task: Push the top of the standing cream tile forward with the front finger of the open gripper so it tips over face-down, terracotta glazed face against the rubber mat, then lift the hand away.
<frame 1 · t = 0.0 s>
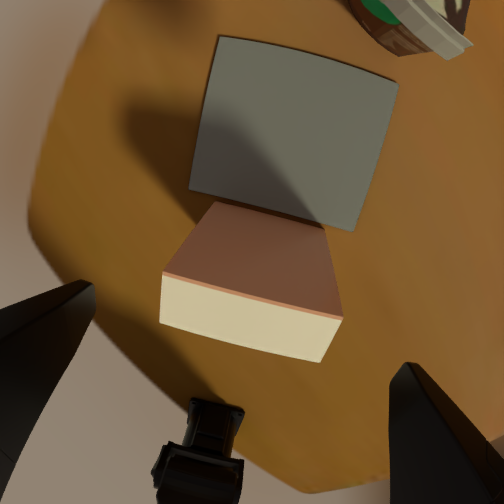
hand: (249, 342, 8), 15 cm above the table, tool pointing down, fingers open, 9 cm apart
rubber mat: (291, 132, 19), on the table
glazed tile: (264, 233, 22), on the table
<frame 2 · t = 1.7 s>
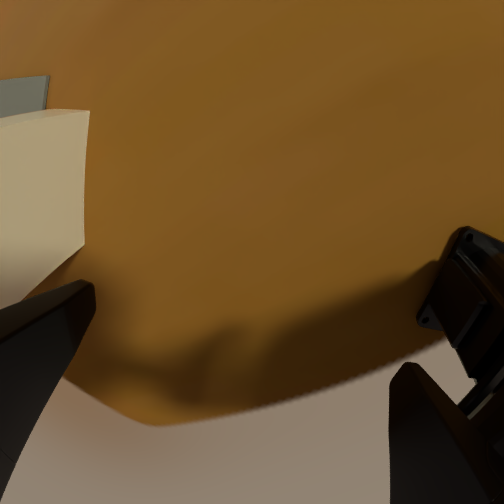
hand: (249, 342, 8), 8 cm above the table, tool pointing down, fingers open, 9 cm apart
glazed tile: (65, 177, 15), on the table
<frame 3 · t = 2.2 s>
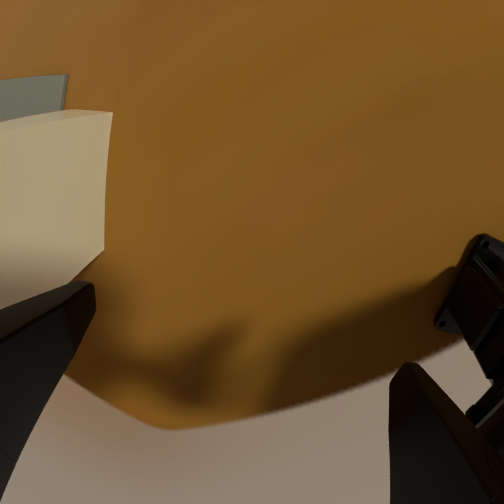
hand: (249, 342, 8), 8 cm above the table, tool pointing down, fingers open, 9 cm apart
rubber mat: (6, 165, 15), on the table
glazed tile: (84, 181, 15), on the table
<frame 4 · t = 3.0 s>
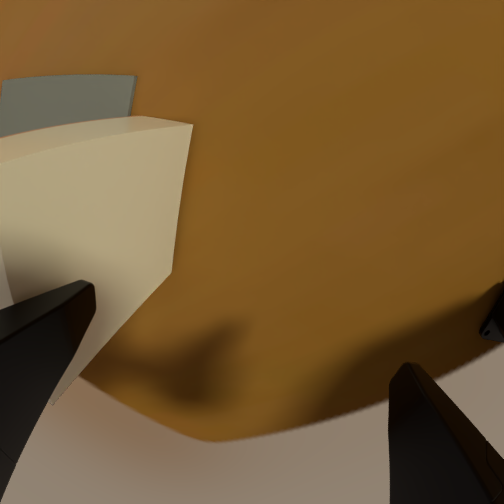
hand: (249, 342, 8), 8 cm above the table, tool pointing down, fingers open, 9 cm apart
rubber mat: (49, 173, 15), on the table
glazed tile: (153, 197, 15), on the table, tilted 7°, touching gripper
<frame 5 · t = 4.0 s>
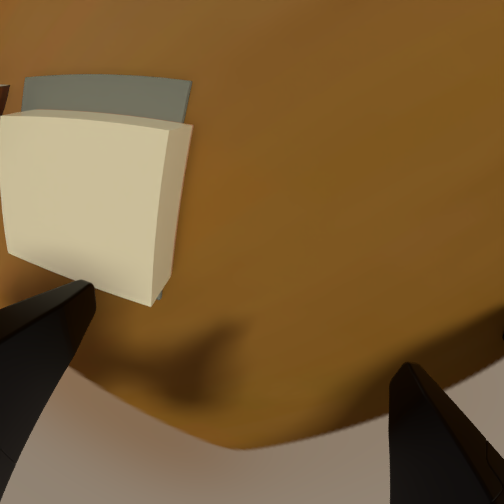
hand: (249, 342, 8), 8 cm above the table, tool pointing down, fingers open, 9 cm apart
rubber mat: (83, 182, 15), on the table
glazed tile: (169, 217, 13), point 2 cm above the table, tilted 90°, touching rubber mat
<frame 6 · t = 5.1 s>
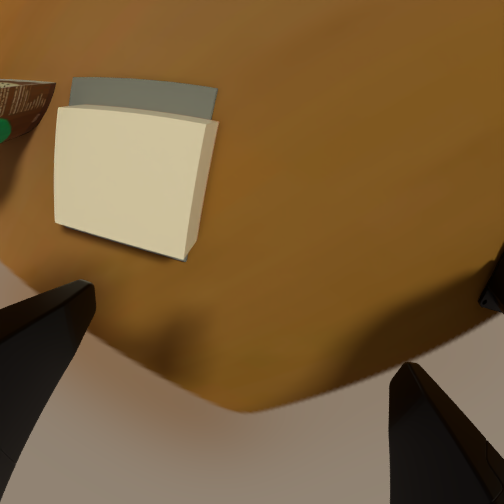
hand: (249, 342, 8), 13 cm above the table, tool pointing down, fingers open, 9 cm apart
food container: (17, 113, 18), on the table
rubber mat: (125, 164, 19), on the table
glazed tile: (200, 189, 18), point 2 cm above the table, tilted 90°, touching rubber mat
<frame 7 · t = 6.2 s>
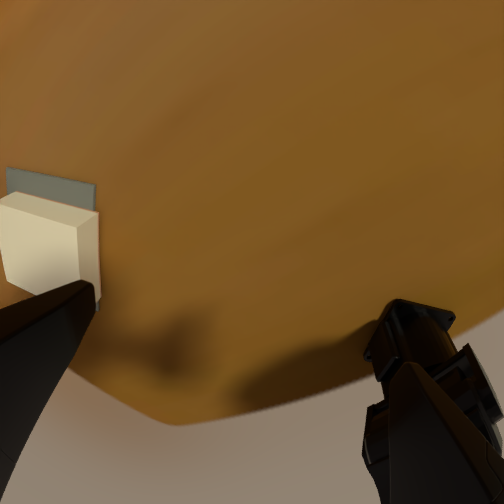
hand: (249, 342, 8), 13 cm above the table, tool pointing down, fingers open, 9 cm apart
rubber mat: (48, 238, 23), on the table
glazed tile: (90, 266, 21), point 2 cm above the table, tilted 90°, touching rubber mat
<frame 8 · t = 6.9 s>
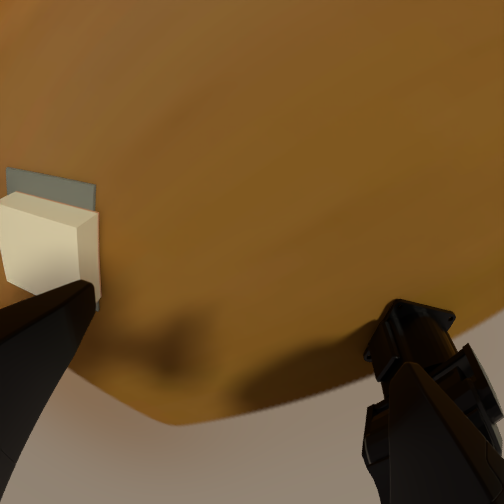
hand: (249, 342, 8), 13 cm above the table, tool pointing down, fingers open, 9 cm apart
rubber mat: (48, 238, 23), on the table
glazed tile: (90, 266, 21), point 2 cm above the table, tilted 90°, touching rubber mat
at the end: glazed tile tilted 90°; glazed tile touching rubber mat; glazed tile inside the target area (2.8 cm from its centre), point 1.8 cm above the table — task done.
